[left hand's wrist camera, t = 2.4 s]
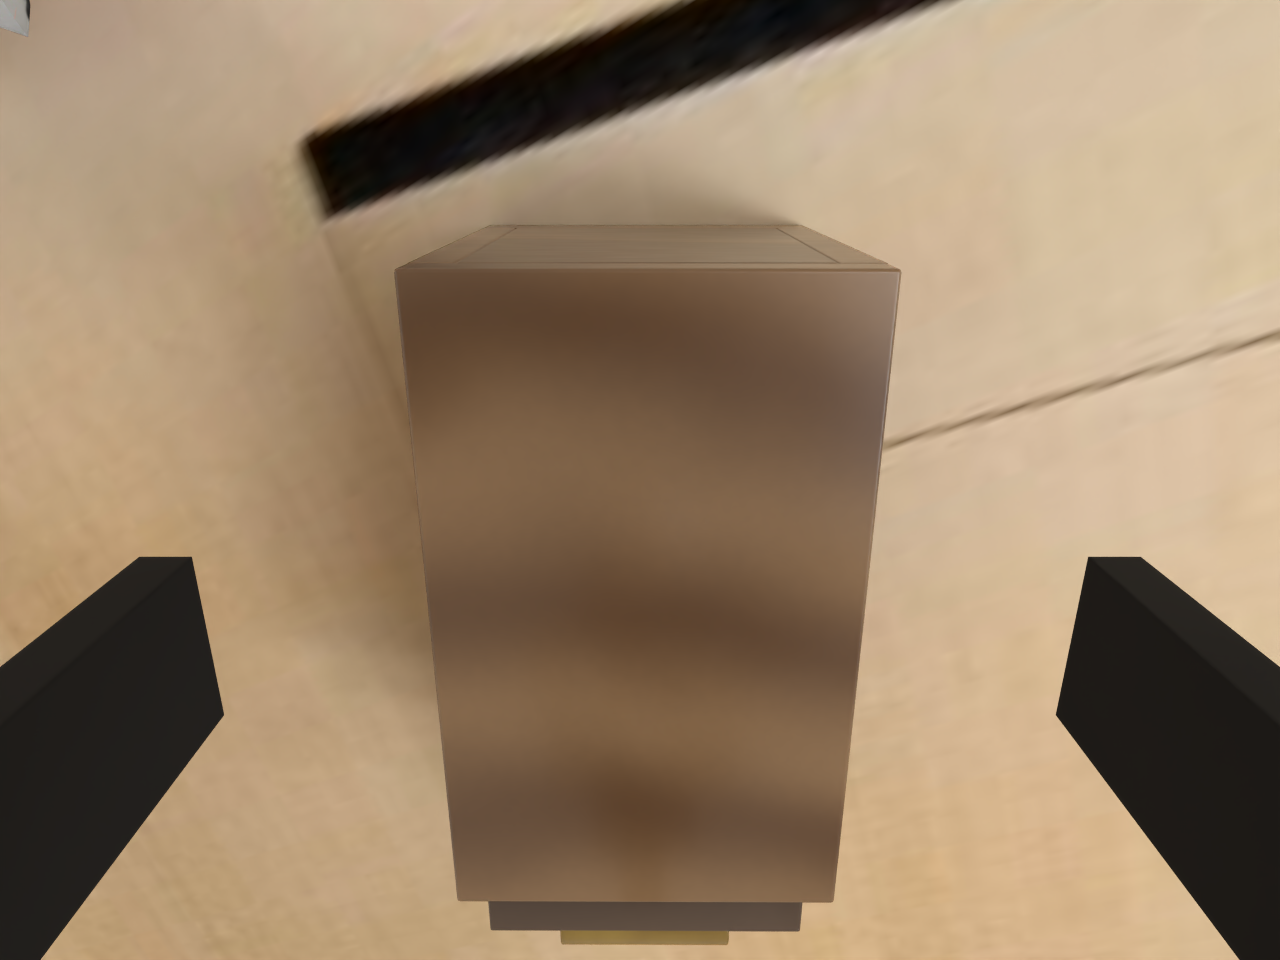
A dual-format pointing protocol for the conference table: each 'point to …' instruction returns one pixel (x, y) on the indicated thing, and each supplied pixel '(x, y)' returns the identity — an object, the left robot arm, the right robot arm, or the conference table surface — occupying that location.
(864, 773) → the conference table surface
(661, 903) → the drawer
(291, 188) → the conference table surface
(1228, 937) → the left robot arm
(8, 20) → the fish
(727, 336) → the cabinet
